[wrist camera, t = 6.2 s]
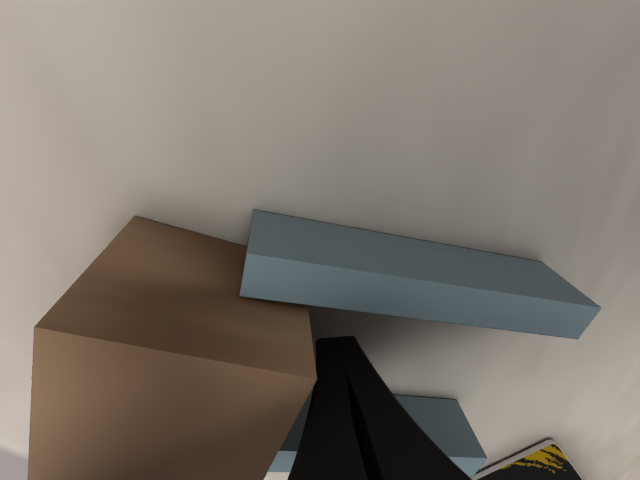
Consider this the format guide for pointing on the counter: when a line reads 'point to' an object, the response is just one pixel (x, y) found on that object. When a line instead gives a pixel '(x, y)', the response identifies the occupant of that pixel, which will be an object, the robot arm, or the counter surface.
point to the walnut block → (165, 366)
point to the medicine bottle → (533, 465)
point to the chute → (407, 300)
